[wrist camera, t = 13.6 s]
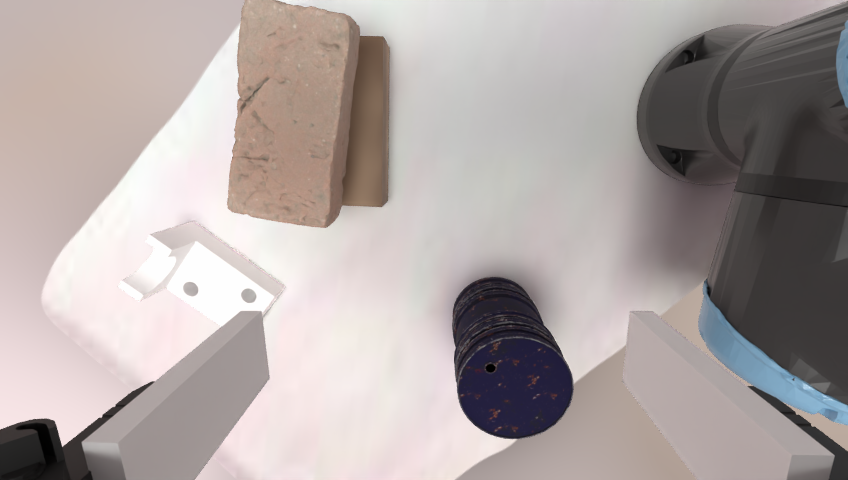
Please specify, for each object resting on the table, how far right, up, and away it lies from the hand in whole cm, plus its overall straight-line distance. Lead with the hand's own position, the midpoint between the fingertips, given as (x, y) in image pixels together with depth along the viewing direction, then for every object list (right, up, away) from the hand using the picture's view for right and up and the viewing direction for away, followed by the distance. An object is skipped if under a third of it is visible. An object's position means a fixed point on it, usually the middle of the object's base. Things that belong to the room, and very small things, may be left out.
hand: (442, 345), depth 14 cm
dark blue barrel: (+8, -5, +34) cm, 35 cm away
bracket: (-25, 0, +34) cm, 42 cm away
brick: (-11, +14, +20) cm, 27 cm away
